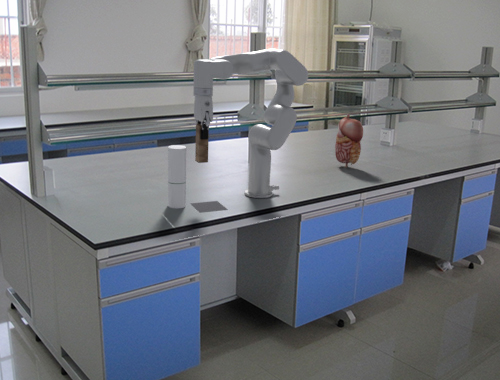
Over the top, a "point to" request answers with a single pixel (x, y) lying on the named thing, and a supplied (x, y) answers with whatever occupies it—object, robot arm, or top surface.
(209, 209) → the mat
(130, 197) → the top surface
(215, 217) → the top surface
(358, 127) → the anatomical model
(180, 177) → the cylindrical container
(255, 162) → the robot arm
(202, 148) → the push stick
